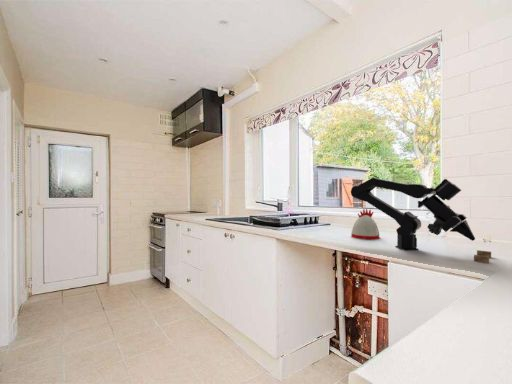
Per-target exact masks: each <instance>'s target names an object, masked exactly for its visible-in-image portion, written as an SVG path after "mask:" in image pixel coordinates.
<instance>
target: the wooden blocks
mask: <svg viewBox="0 0 512 384" xmlns="http://www.w3.org/2000/svg"><path fill="white" fill-rule="evenodd" d="M490 258H492V251H487V250H479V249H477V250H476V254H474V255H473V262H478V263H486V264H490Z"/></svg>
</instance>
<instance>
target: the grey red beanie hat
mask: <svg viewBox="0 0 512 384" xmlns="http://www.w3.org/2000/svg"><path fill="white" fill-rule="evenodd" d="M359 212H360V213H359ZM359 212H358V213H357V216H358V218H357V219H356V220H355V221H354V223H353V225H352V228H351V233H350V234H351V237H352V238H355V239H362V240H378V239H380V231H379V228H378V224H377V223H376V221H375V220H374V219H373V218H372V217H373V215H374V211H372V209H369V211H368V209H366V210H365V209H364V208H363V209H362V211H361V210H360V211H359Z"/></svg>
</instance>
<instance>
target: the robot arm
mask: <svg viewBox="0 0 512 384" xmlns="http://www.w3.org/2000/svg"><path fill="white" fill-rule="evenodd" d="M376 187H377V188H381V189H385V190H391V191H394V192H398V193H402V194H404V195H406V196H409V197H411V198H414V199H422V200H418V201H417V208H419V209H420V208H422V207H425V209H427V210H428V211H429V212H430V213H431V214H433V218H434V219H435V220H434V222H433V223H429V224H428V225H427V229H428V231H429V233H430V234H434V235H436V236H439V235H440V234H441V232H442V231H444V232H445V233H446V232H448V231H449V232H451V233H452V232H454V233H459V234H460V235H462V236H464V237H465V238H467V239H469V240H470V241H472V242H473V241H475V240H476V237H475V235H474V233H473V232H472V231H473V230H472V229H471V227H470V225H469V223H468V221H467V218H468V217H466V215H464V214H463V213H461V214H460V213H457V212H455V211H454V210H453V209H452V208H451V206H450V205H447V204H446V203H445V202H443V201H450V200H452V199H453V198H454V197H455V196H456V195H458V194H459V193H460V192H461V191H462V189H461V188H460V187H459V186H457V185H456V184H455V183H453V182H451V181H449V179H447V178H444V179H443V180H442V181H441V182H440V183H439V184H438V185H437V186H436V187H427V185H424V184H420V183H419V184H417V183H416V184H415V183H401V182H396V181H391V180H386V179H383V178H382V179H381V178H379V177H371V178H369V179H368V180H366V181H364V182H362V183H360V184H359V185H353V187H352V188H351V189H350V195H351V196H352V197H353V198H355V199H356V200H357V199H358V200H360V201H363V202H366V203H368V204H370V205H371V206H372V207H374V208H376V209H378V210H379V211H381V212H382V213H384V214H385V215H386V216H388V217H390V218H392V219H393V220H394V221H395V222H396V224H398V227H397V228H396V230H395V231H396V234H397V239H396V241H397V242H396V243H397V245H395V246H394V247H395V248H397V249H400V250H403V251H418V250H419V248H417V247H418V245H417V244H418V243H417V242H418V238H417V234H416V233H417V231H418V230H420V229H421V228H422V221H421V220H420V218H419V216H418V215H414V214H413V213H412V212H411V211H405V212H402V211H400V210H398V209H397V208H395V207H394V206H392V205H391V204H389V203H387V202H386V201H384V200H382V199H380V198H379V197H377V196H375V194H373V192H372V190H374V189H375V188H376ZM428 195H431V196H430V197H429V196H428Z"/></svg>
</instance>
